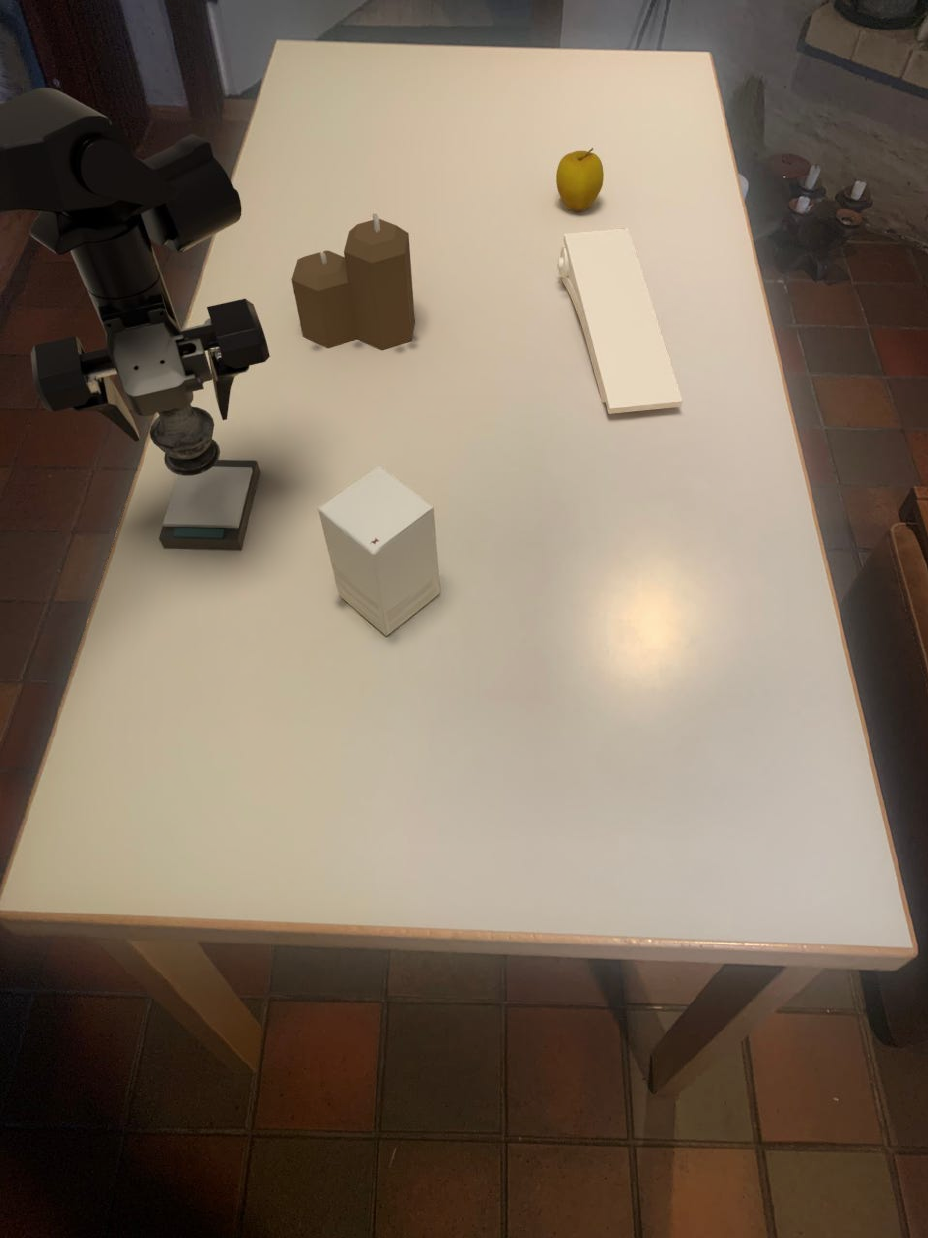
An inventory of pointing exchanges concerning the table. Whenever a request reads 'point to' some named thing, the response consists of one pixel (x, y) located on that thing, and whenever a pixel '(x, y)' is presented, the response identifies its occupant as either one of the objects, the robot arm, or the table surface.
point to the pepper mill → (186, 440)
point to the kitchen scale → (211, 507)
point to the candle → (358, 289)
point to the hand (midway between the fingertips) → (180, 427)
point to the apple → (579, 179)
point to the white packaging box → (382, 548)
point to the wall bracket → (618, 321)
